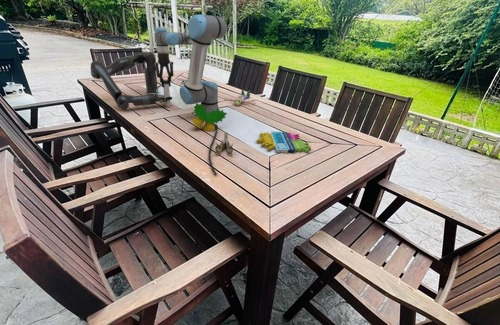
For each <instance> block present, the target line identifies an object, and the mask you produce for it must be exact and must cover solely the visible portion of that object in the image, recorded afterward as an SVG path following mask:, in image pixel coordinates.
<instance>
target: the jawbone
mask: <svg viewBox="0 0 500 325" xmlns="http://www.w3.org/2000/svg"><path fill="white" fill-rule="evenodd" d="M223 135H224V136H223V140H222V139H221V142H220V144H218V142H215V144H216V146H215V148H214V149H215V152H214V154H215V155H217V156H218V155H220V153H221V152H223V151H224V150H226V152H227V153H228V155H229V156H233V155H234V154H233V153H234V148H233V144H234V143H230V140H228V139H229V138H228V137H229V136H228V135H229V133H228V131H226V132H224V134H223Z"/></svg>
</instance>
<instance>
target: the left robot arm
mask: <svg viewBox="0 0 500 325" xmlns="http://www.w3.org/2000/svg"><path fill="white" fill-rule="evenodd" d="M156 62H157V58H156V54H155V53H154V52H151V51H142V52H140V53H139V52H138V53H137V54H133V55H128V56H123V57H118V58H116V59H115V60H114V61H112V62H111V63H110V64H109V65H107V66H106V65H105V63H103V62H102V61H100V60H93V61H92V62H91V63H90V76H91V77H92V78H93V79H96V80H102V82H103V84H104V86H105V88H106V90H107V92H108V93H109V94H110V96H111V97H112V98H113V100H114V102H115V104H116V105H117V107H118V108H119V109H121V110H127V109H129V107H130V104H132V105H133V106H134V107H140V106H154V105H156V104H157V102H158V103H160V104H162V103H165V102H167V100H170V101H172V100H173V96H170V97H164V94H159V88H160V87H162V86H161V82H158V80H157V78H158V77H157V75H156V67H155V64H154V63H156ZM142 64H145V65H146V66H145V68H144V69H143V74H144V81H145V82H144V83H145V90H146V94H139V95H131V94H123V92H122V90H121V89H120V87H119V86H118V85H117V83H116V82H115V81H114V79H113V78H112V75H115V74H119V73H121V72H126V71H130V70H132V69H133V68H135V67H136V66H138V65H142ZM158 84H159V85H158ZM165 99H166V100H165Z"/></svg>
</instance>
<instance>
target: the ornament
mask: <svg viewBox="0 0 500 325" xmlns="http://www.w3.org/2000/svg"><path fill="white" fill-rule="evenodd" d="M219 110H220V108H219V109H217V110H216V111H214V110H212V112H211V113H208V112H206V109H204V106H201V103H197V102H196V103H195V105H194V106H193V112H194V113H195V118H192V119H191V122H192V123H193V125H195V127H197V128H198V129H202V130H203V131H206V132H212V131H213V132H214V131H216V126H215V125H214V124H218V123H219V122H223V119H226V115H227V114H228V113H227V112H224V110H223V109H221V110H220V111H219ZM207 113H208V115H207ZM213 123H214V124H213Z"/></svg>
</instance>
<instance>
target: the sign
mask: <svg viewBox="0 0 500 325" xmlns="http://www.w3.org/2000/svg"><path fill="white" fill-rule="evenodd" d="M299 136H300V135H299V134H298V133H296V134H294V133H291V132H287V131H270V132H264V133H263V132H260V133H259V139H258V138H257V139H256V143H257V144H261V148H263V147H264V148H265V149H267V151H268V152H271V151H272V150H273V149H275V152H276V153H283V154H285V153H287V154H288V153H290V154H293V153H296V152H298V153H301V152H305V153H310V151H311V150H312V149H311V148H312V146H309V142H304V141H303V139H302V138H299Z"/></svg>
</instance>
